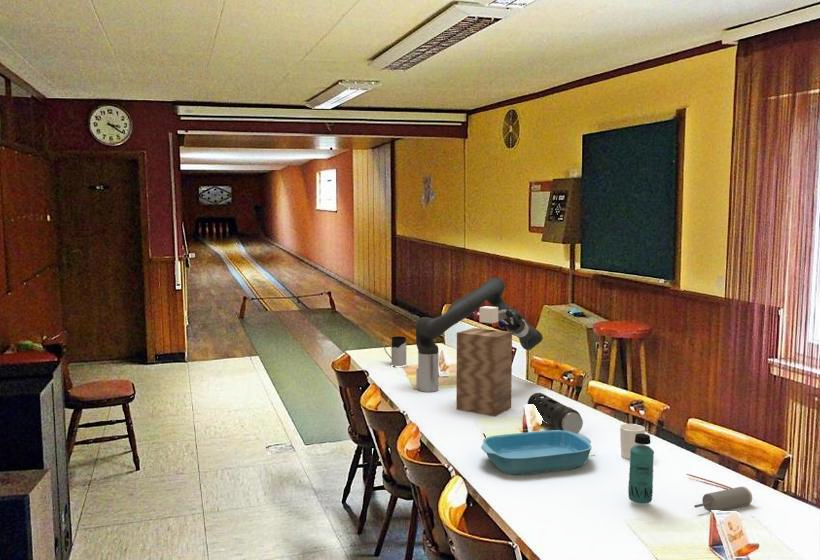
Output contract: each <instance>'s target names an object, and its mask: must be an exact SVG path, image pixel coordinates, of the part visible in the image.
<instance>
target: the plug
mask: <svg viewBox="0 0 820 560" xmlns="http://www.w3.org/2000/svg"><path fill="white" fill-rule="evenodd" d="M509 311H511V312H512V310H509ZM506 318H510V317H508V316H507V315H506V310H505V309H503V310H499V311H498V307H493V306H490V305H489V306H487V305H485V306H480V307H479V323H484V324H485V323H487V324H494V323H495V324H496V323H498V321H499V320H500V321H501V320H503V319H506ZM500 321H499V322H500Z"/></svg>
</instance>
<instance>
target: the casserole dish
mask: <svg viewBox="0 0 820 560" xmlns="http://www.w3.org/2000/svg"><path fill="white" fill-rule="evenodd" d="M482 442H483V443H482V445H481V446H480V448H481V450H482V451H483V452H485V454H486V456H487V458H488V459H489V461H490V462H491V463H492V464H493V465H494V466H495V467H497V468H498V469H499V470H500V471H501V472H503V473H505V474H508V475H527V474H528V475H529V474H538V473H548V472H555V471H556V472H557V471H566V470H572V469H576V468H580V467H581V466H583V465H585V463H587V461H588V458H589V455H590V453H591V450H592V447H593V446H592V445H591V443H592V440H591V439H590V438H588V437H587V436H585V435H583V434H578V433H577V434H575V433H572V432H569V431H564V430H557V429H550V430H548V429H547V430H537V431H529V432H528V431H527V432H518V433H517V432H516V433H506V434H498V435H492V436H491V435H490V436H487V437H485V438H483V441H482Z"/></svg>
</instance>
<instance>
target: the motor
mask: <svg viewBox="0 0 820 560" xmlns="http://www.w3.org/2000/svg"><path fill="white" fill-rule="evenodd" d="M686 475H687V476H689V477H692V478H690V480H694V481H695V479H693V478H696V482H700V483H704V484H708V485H711V486H714V487H717V488H721V489H723V490H718V491H714V492H710V493H705V494H704V495H703V496H702V503H699V504H695V505H694V508H695V509H696V508H700V507H704V510H706V511H707V512H708V511H709V512H710V511H711V510H723V511H727V510H730V509H731V510H732V509H735V508H740V507H744V506H749V505H750V504H752V501H753V495H752V492H751V491H750V490H749V488H747V487H745V486H738V487H731V486H729V485H728V486H727V485H725V484H723V483H719V482H716V481H713V480H710V479H706V478H704V477H700V476H696V475H693V474H690V473H686ZM698 479H699V480H698ZM701 480H702V481H701Z"/></svg>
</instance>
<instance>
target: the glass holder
mask: <svg viewBox="0 0 820 560" xmlns="http://www.w3.org/2000/svg"><path fill="white" fill-rule="evenodd" d="M386 340H388V343H389V347H390V349H391V352H390V353H391V355H390V354H389V353H388V352H387V350H386V347H385V346H386V345H385V342H386ZM382 344H383V349H384V352H385V353H386V355H388V357H389V358H390V360H391V363H390V366H391V365H393V366H403V365H406V364H407V338H406V336H400V335H399V336H392V337H391V339H389V338H384V339H383V342H382Z"/></svg>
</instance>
